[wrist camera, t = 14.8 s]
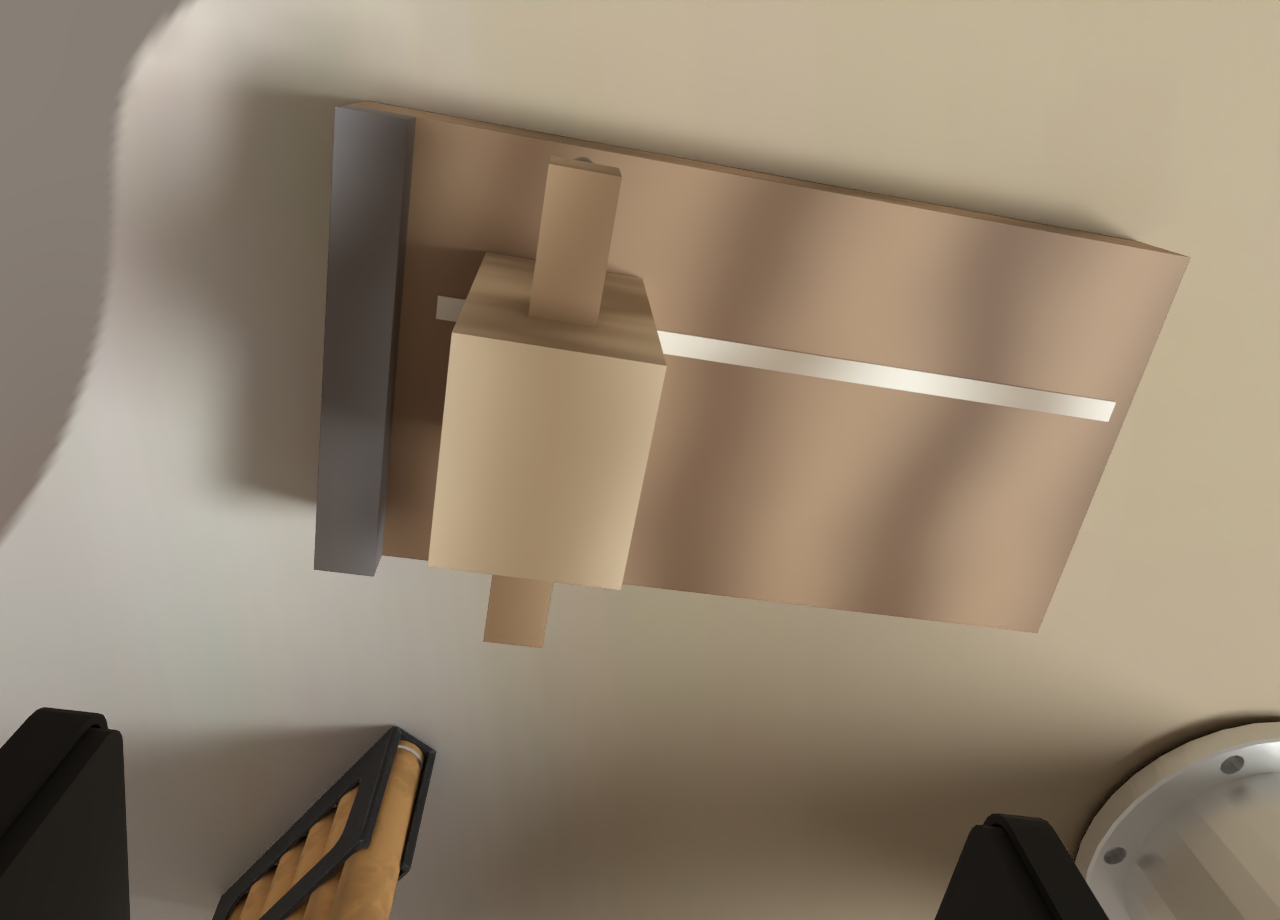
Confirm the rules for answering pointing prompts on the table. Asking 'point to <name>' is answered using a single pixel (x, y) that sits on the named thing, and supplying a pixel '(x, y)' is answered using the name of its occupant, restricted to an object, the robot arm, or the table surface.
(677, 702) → the table surface
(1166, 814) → the robot arm
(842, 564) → the board
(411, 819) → the ammunition clip
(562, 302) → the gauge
